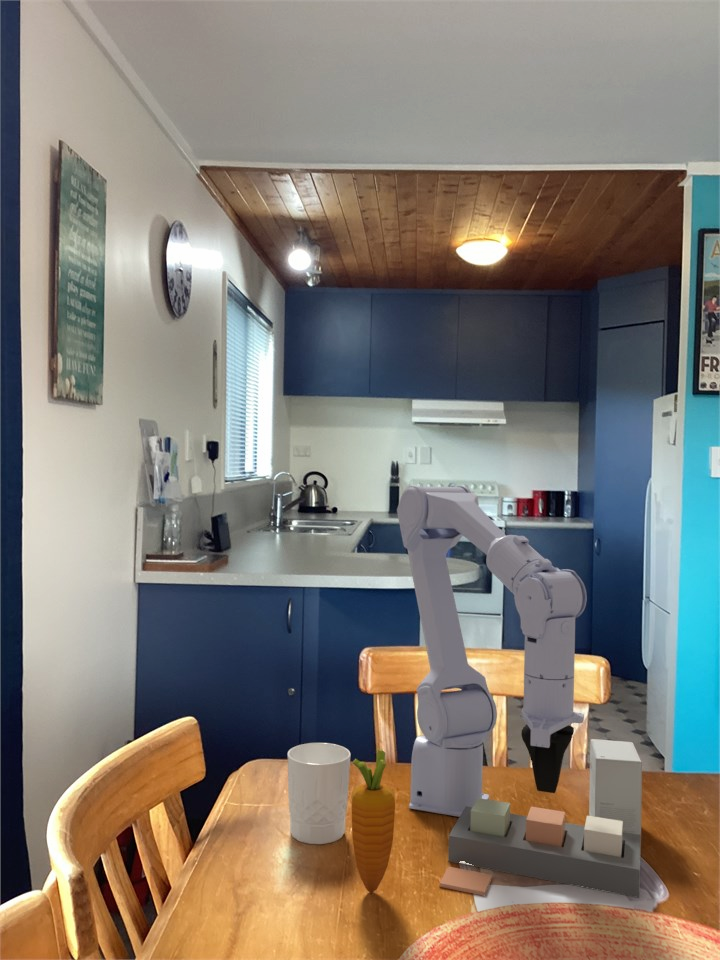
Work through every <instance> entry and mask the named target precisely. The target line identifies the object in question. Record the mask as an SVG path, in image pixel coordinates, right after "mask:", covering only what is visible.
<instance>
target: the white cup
mask: <svg viewBox="0 0 720 960" xmlns="http://www.w3.org/2000/svg"><path fill="white" fill-rule="evenodd" d="M350 765H351V752H350V750H349V749H348V748H346V747H345V746H342V745H339V744H335V743H330V742H308V743H304V744H303V743H302V744H299V745H296V746H294V747H291V748H290V749H289V750H288V751H287V784H288V785H287V788H288V789H287V791H288V793H287V794H288V809H289V812H288V813H289V815H290V816H289V821H290V822H289V825H290V826H289V827H290V829H289V830H290V833H291V837H292V838H294V839H295V840H297V841H298V842H300V843H305V844H309V845H326V844H330V843H334V842H336V841H338V840H340V839H342V837H343V836H344V834H345V832H346V817H347V816H346V814H347V810H348V809H347V808H348V798H349V785H350V784H349V783H350V782H349V781H350V768H351V767H350Z"/></svg>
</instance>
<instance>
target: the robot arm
mask: <svg viewBox="0 0 720 960" xmlns="http://www.w3.org/2000/svg"><path fill="white" fill-rule="evenodd" d="M479 505H480V504H479V498H478V495H476V494H475V493H473V492H472V491H471V490H470V488H468V487H467V486H464V485H458V486H424V485H423V486H420V485H415V484H412V485H409V486H407V487H406V488H405V489H404V491H403V493H402V494H401V496H400V500H399V503H398V505H397V508H396V514H397V519H398V524H399V528H400V529H399V530H400V533H401V538H402V539H401V541H402V545H403V547H404V548H405V549H407V555H408V560H409V565H410V571H411V576H412V582H413V587H414V592H415V597H416V602H417V607H418V612H419V617H420V618H419V619H420V623H421V627H422V633H423V638H424V644H425V649H426V653H427V659H428V663H429V670H430V671H428V673H427V675H426V676H425V677H424V678H423V679H422V680H421V682H420V683H419V684H418V686H417V687H416V695H417V710H416V717H417V718H416V719H417V724H418V727H419V729H420V731H421V733H422V734H420V735H419V734H418V736H417V737H416V738H415V740H414V742H413V743H414V744H413V747H412V753H411V765H410V766H411V767H410V771H411V772H410V802H409V803H408V807H409V809H413V810H417V811H421V812H422V811H423V812H428V813H434V814H440V815H441V814H442V815H448V816H453V817H458V818H459V817H460V815H461V814H462V812H463V810H464V809H465V807H466V806H467V807H473V806H474V804H475V802H476V800H477V798H481V799H487V800H490V795H489V794H488V793H483V762H484V761H483V758H484V757H483V756H484V742H486V741H488V740H489V739H488V736H489V735H488V734H489V733H490V732H492V730H494V728H495V725H496V724H497V717H498V716H497V715H498V709H497V705H496V702H495V699H494V697H493V695H492V694H491V692H490V690H489V687H488V685H487V680H486V677H485V676H484V675H483V674H482V673H480V672H479V671H478V670H477V669H475V668H474V667H472V666H471V665H470V664H469V662H468V656H467V652H466V647H465V642H464V638H463V633H462V629H461V624H460V619H459V614H458V613H459V612H458V610H457V604H456V600H455V595H454V589H453V586H452V581H451V580H452V579H451V576H450V572H449V571H450V570H449V566H448V561H447V554H448V552H449V550H450V549H452V548H454V547H456V546H457V544H458V543H459V542H460V540H461V539H462V537H464V538H465V539H467V540H468V541H469V542H470V543H471V544H473V545H474V546H475V547H476V548H478V549H479V550H480V551H481V552H482V553H484V554H485V555H486V559H485V561H486V562H485V563H486V567H487V569H488V571H490V572H491V573H492V574H493V576H495V577H496V579H498V580H499V581H500V582H501V584H503V585H504V586H505V587H506V589H508V590H509V591H510V593H512V594H513V595H514V596H513V598H514V604H515V605H514V606H515V608H516V610H517V613H518V615H519V619H520V629H521V630H522V634H523V635H524V654H523V655H524V657H523V658H524V659H523V661H524V662H523V663H524V665H523V666H524V667H523V707H522V708H521V718H522V719H523V721H524V722H525V725H524V726H523V728H522V729H521V738H522V741H523V743H524V745H525V746H526V747H525V748H526V749H527V751H528V754H529V758H530V761H531V762H530V763H531V766H532V767H531V768H532V772H533V777H534V778H533V779H534V782H535V787H536V790H537V792H543V793H550V794H556V791H557V788H558V785H559V781H560V776H561V770H562V765H563V760H564V756H565V753H566V750H567V748H568V747H569V745H570V743H571V741H572V738H573V735H574V733H575V729H574V727H573V726H571V725H572V724H582V723H584V720H585V714H584V713H582V712H577V711H574V707H575V706H574V702H575V699H574V697H575V693H574V690H575V655H576V654H575V652H576V651H575V649H576V646H575V645H576V618H579V617H580V616H581V615H582V614H583V613H584V611H585V608H586V606H587V599H588V598H587V597H588V596H587V589H586V586H585V583H584V582H583V580H582V579H581V577H580V576H579V575H578V574H577V572H576V571H575V570H572V569H569V568H566V569H560V568H559V567H555V566H553V563H552V561H551V560H550V559H548V558H545V557H543V556H542V554H540V553H539V552H538V551H537V550H535V548H533V547H532V546H531V545H530V544H529V543H530V540H529V539H528V538H527V537H526V536H524V535H516V534H508V535H506V534H505V533H504V532H503V530H501V528H500V527H498V525H497V524H495V522H494V521H493V520H492V519H491V518H490V517H489V515H487V513H485V511H484V510H483V509H482V508H481V507H480V506H479ZM452 689H453V690H454V689H459V690H455V691H453V690H452ZM445 690H452V691H445ZM442 691H445V692H442Z"/></svg>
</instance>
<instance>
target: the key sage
mask: <svg viewBox="0 0 720 960" xmlns="http://www.w3.org/2000/svg"><path fill="white" fill-rule="evenodd" d="M510 814H511V802H505V801H498V800H494V799H489V800H487V799H481V798H477V800H476V802H475V804H474V806H473V807H472V809H471V823H470V831H473V832H479V833H485V834H491V835H496V836H502V837H507V834H508V832H509V829H510Z"/></svg>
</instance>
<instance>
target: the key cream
mask: <svg viewBox="0 0 720 960" xmlns="http://www.w3.org/2000/svg"><path fill="white" fill-rule="evenodd" d="M584 826H585V828H584V851H588V852H594V853H599V854H605V855H611V856H616V857H622V833H623V821H619V820H612V819H606V818H600V817H594V816H589V815H586V818H585V824H584Z"/></svg>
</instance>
